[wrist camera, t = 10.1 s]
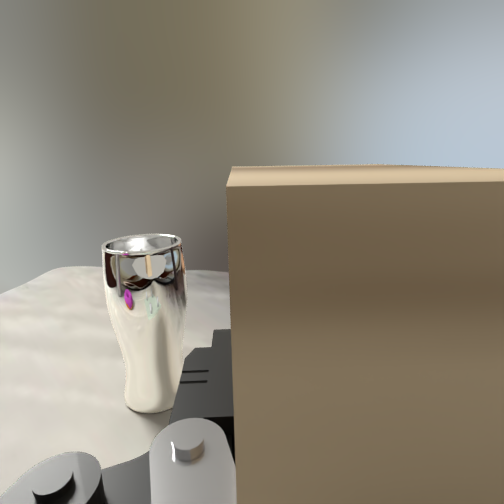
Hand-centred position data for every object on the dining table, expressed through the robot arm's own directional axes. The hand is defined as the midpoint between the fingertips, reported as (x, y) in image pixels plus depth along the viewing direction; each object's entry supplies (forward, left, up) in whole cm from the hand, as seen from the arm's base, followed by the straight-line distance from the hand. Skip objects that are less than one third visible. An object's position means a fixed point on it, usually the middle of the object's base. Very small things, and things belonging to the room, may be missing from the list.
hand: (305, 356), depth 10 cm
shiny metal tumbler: (+2, +23, -17) cm, 28 cm away
